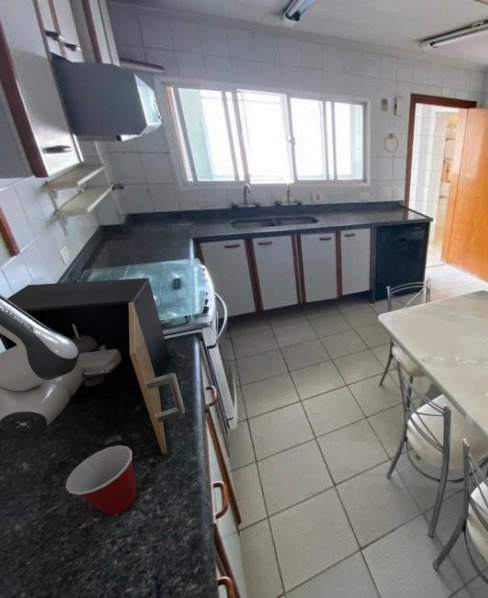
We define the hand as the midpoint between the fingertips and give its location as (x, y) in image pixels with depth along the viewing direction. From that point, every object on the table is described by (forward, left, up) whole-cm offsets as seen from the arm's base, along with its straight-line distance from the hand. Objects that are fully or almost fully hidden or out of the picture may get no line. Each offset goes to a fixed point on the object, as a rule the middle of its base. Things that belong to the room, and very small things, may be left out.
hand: (83, 349), depth 95 cm
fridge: (0, +8, -17) cm, 18 cm away
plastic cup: (+16, -41, -17) cm, 48 cm away
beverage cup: (0, -1, -11) cm, 11 cm away
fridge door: (+22, -16, -17) cm, 32 cm away
